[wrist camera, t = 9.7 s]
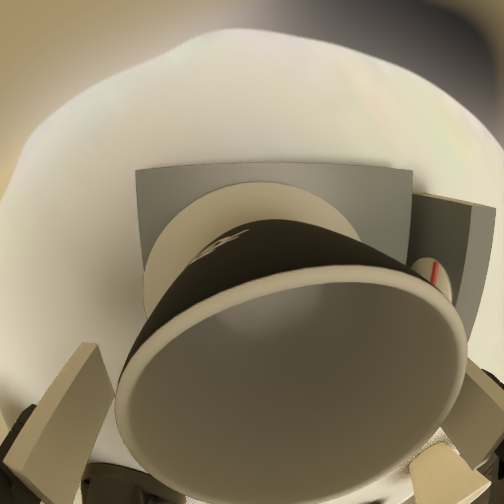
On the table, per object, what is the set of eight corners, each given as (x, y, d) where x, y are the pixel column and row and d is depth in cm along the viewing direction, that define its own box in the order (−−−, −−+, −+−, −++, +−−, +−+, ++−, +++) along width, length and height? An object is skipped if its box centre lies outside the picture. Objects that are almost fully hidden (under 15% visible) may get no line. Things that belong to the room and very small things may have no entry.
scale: (174, 372, 20) (157, 439, 14) (148, 170, 16) (98, 170, 10) (403, 351, 21) (443, 400, 15) (428, 173, 17) (497, 181, 11)
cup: (380, 481, 29) (403, 538, 17) (427, 434, 27) (465, 496, 15) (426, 471, 31) (450, 517, 19) (468, 427, 28) (503, 474, 16)
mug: (238, 164, 13) (249, 141, 4) (374, 257, 15) (506, 355, 5) (135, 345, 16) (74, 483, 6) (258, 403, 17) (276, 536, 8)
